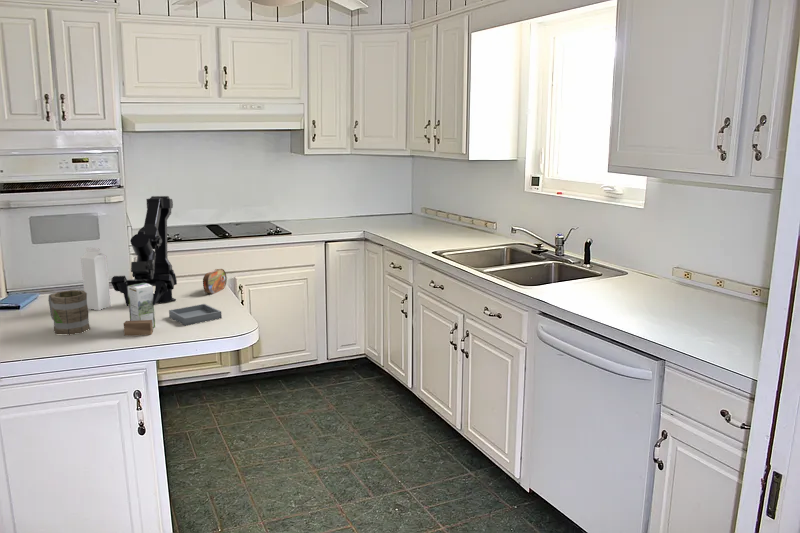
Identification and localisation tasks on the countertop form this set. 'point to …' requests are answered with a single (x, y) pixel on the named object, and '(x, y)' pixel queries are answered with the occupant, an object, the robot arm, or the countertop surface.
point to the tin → (214, 281)
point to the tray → (194, 314)
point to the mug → (69, 311)
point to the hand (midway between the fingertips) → (140, 305)
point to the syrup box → (141, 302)
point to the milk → (95, 279)
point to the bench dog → (138, 327)
